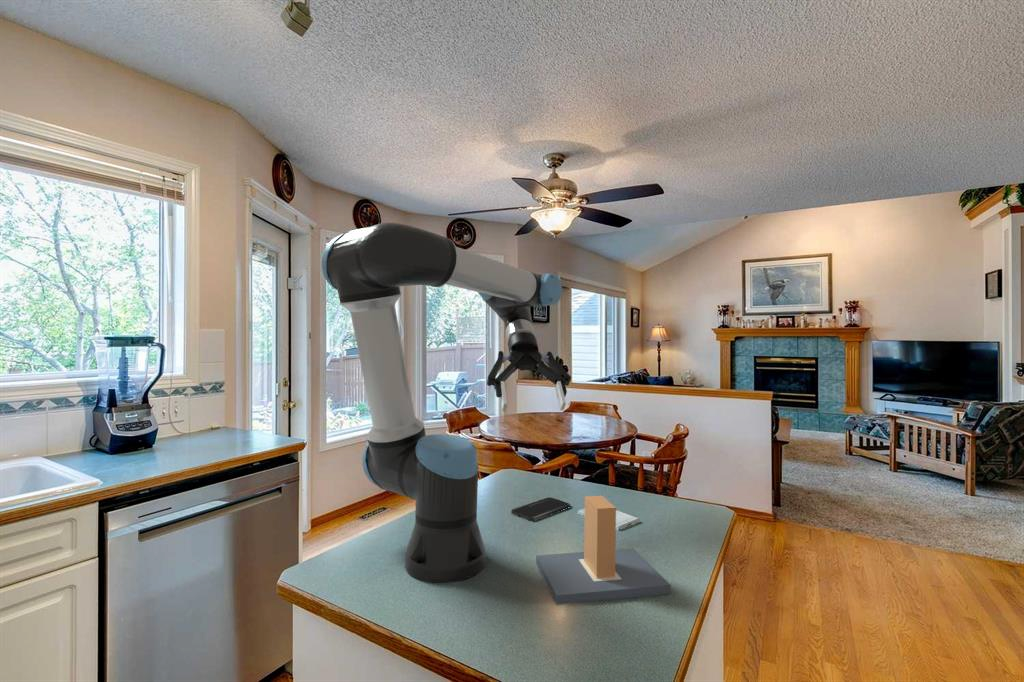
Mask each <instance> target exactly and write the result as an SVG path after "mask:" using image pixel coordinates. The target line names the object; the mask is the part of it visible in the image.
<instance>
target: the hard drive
mask: <svg viewBox="0 0 1024 682" xmlns="http://www.w3.org/2000/svg"><path fill="white" fill-rule="evenodd" d="M578 514H581V515H584V516H585V507H584V508H582V509H578V511H577V515H578ZM640 521H641V520H640V518H639V517H636V516H633V515H630V514H628V513H625V512H622V511H620V510H618V509H616V529H617V530H616V531H618V530H619V529H622V528H624V529H626V528H625V527H627V526H629V527H631V526H630V525H632V526H633V524H634V525H636V523H637V524H639V523H640ZM638 522H639V523H638ZM627 528H628V527H627ZM622 530H623V529H622ZM619 531H620V530H619Z"/></svg>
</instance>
